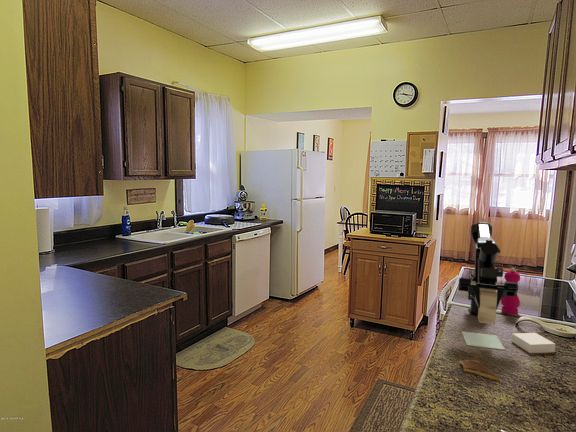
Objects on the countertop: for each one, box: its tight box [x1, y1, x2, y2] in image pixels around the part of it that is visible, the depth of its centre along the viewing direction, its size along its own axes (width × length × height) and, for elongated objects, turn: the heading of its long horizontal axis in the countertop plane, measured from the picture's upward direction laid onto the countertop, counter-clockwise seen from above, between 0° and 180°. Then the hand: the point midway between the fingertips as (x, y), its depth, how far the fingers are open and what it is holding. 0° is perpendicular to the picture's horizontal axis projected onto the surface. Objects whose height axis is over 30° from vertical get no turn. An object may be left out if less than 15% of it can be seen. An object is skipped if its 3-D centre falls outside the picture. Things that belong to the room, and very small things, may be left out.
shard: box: [458, 359, 502, 382], centre depth 113 cm, size 11×8×2 cm
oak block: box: [477, 288, 497, 326], centre depth 132 cm, size 5×5×11 cm
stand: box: [511, 332, 556, 354], centre depth 131 cm, size 9×9×3 cm
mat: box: [461, 330, 506, 351], centre depth 136 cm, size 12×12×1 cm
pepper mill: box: [500, 267, 521, 315], centre depth 164 cm, size 7×7×20 cm
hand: (487, 308), depth 131 cm, fingers closed on oak block, 5 cm apart
